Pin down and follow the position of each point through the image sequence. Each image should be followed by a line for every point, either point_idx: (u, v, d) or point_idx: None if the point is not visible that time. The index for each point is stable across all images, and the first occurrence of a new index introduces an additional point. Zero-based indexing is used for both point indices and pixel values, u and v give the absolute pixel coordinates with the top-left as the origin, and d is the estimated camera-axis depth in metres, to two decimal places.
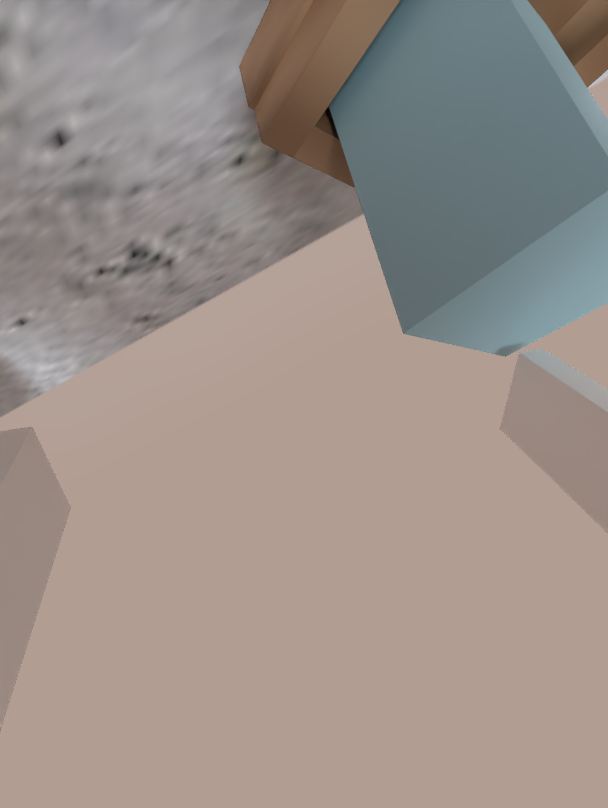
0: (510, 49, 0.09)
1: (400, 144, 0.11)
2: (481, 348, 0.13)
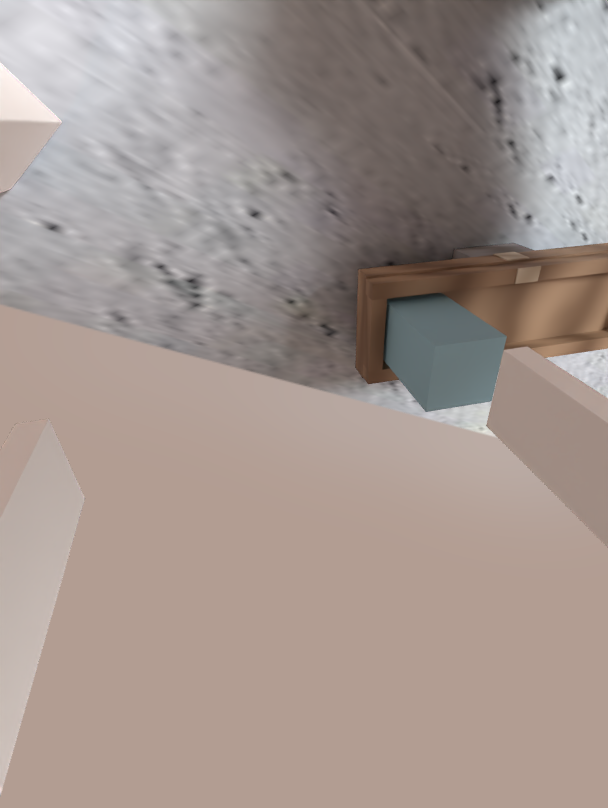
0: (467, 314, 0.31)
1: (426, 316, 0.31)
2: (430, 392, 0.29)
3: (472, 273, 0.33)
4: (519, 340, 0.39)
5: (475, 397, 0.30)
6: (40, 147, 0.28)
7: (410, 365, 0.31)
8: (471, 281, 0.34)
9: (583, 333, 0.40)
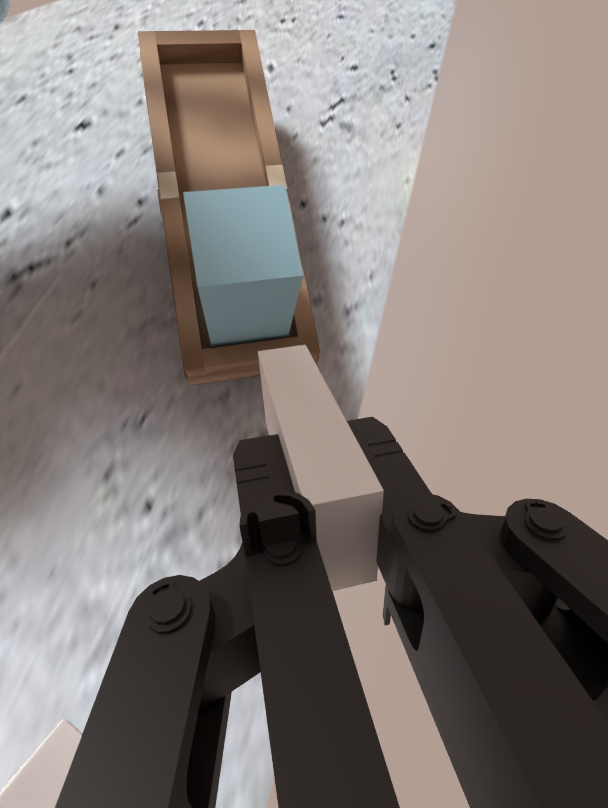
0: None
1: None
2: (270, 276, 0.20)
3: (168, 252, 0.28)
4: (260, 169, 0.32)
5: (279, 209, 0.21)
6: None
7: (259, 307, 0.23)
8: (178, 250, 0.28)
9: (248, 93, 0.33)
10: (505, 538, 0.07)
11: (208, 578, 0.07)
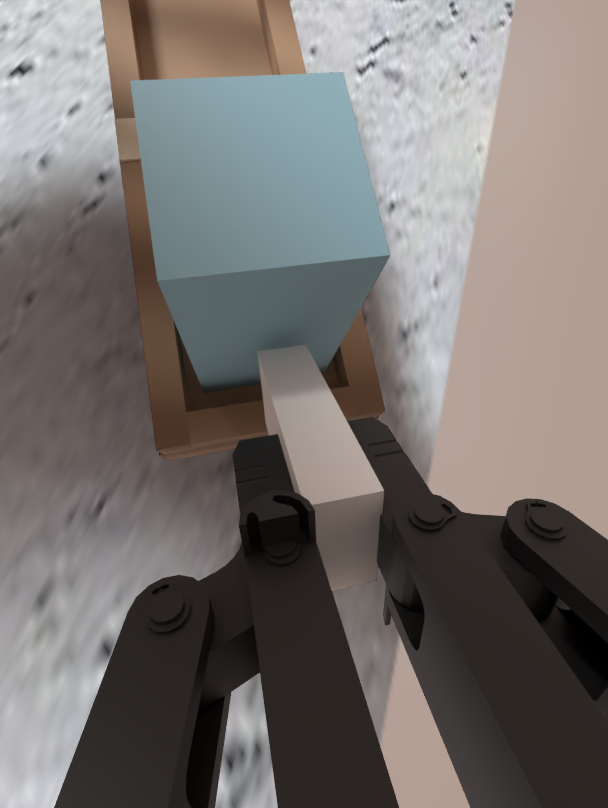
0: None
1: None
2: (319, 257, 0.09)
3: (131, 246, 0.17)
4: None
5: (332, 119, 0.10)
6: None
7: (288, 323, 0.12)
8: (147, 244, 0.17)
9: (259, 9, 0.22)
10: (506, 538, 0.07)
11: (207, 578, 0.07)
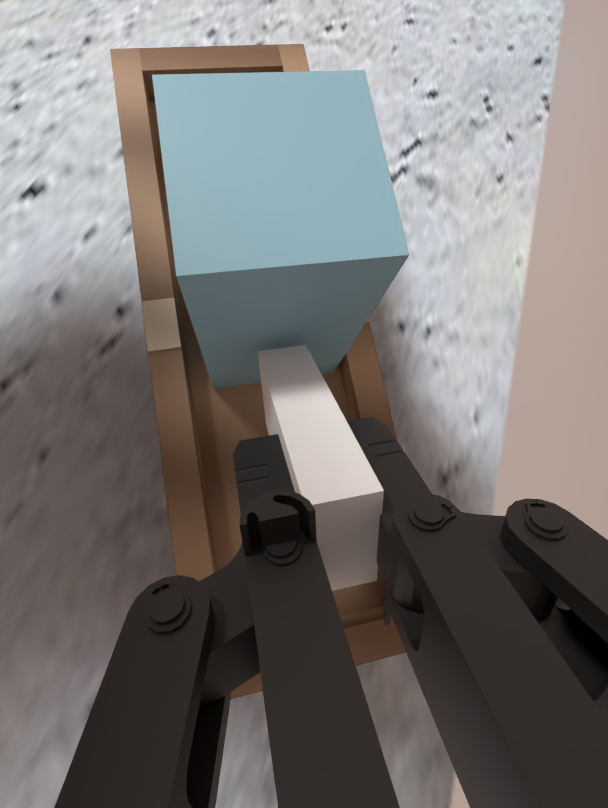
0: None
1: None
2: (338, 256, 0.09)
3: (162, 455, 0.15)
4: None
5: (353, 117, 0.10)
6: None
7: (302, 321, 0.12)
8: (179, 452, 0.15)
9: None
10: (506, 538, 0.07)
11: (208, 578, 0.07)
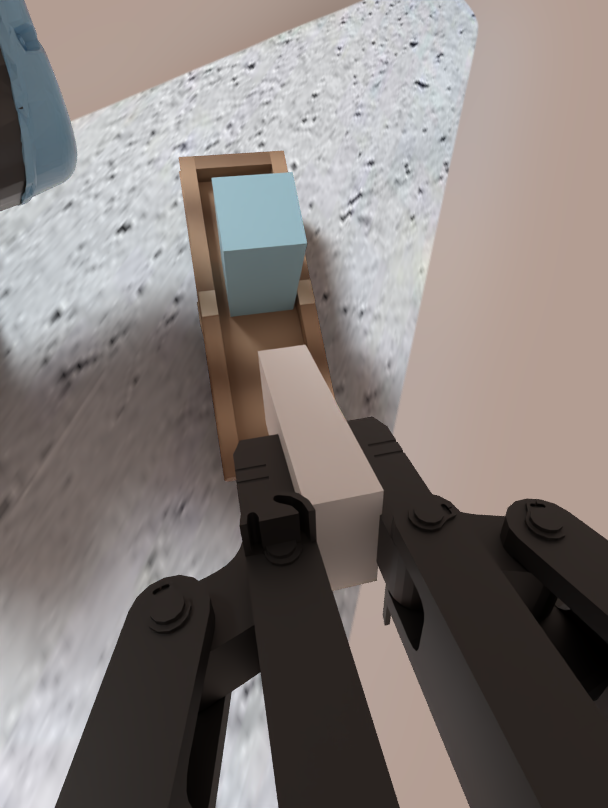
0: (217, 226, 0.30)
1: None
2: (280, 244, 0.25)
3: (209, 366, 0.31)
4: None
5: (287, 191, 0.26)
6: None
7: (271, 273, 0.28)
8: (218, 365, 0.31)
9: None
10: (505, 539, 0.07)
11: (208, 578, 0.07)
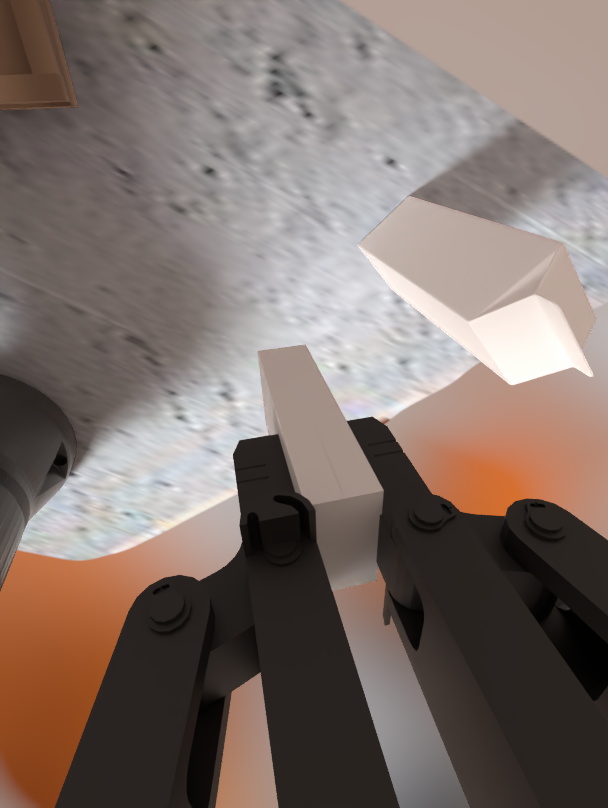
0: None
1: None
2: None
3: None
4: None
5: None
6: (378, 229, 0.37)
7: None
8: None
9: None
10: (505, 538, 0.07)
11: (208, 578, 0.07)
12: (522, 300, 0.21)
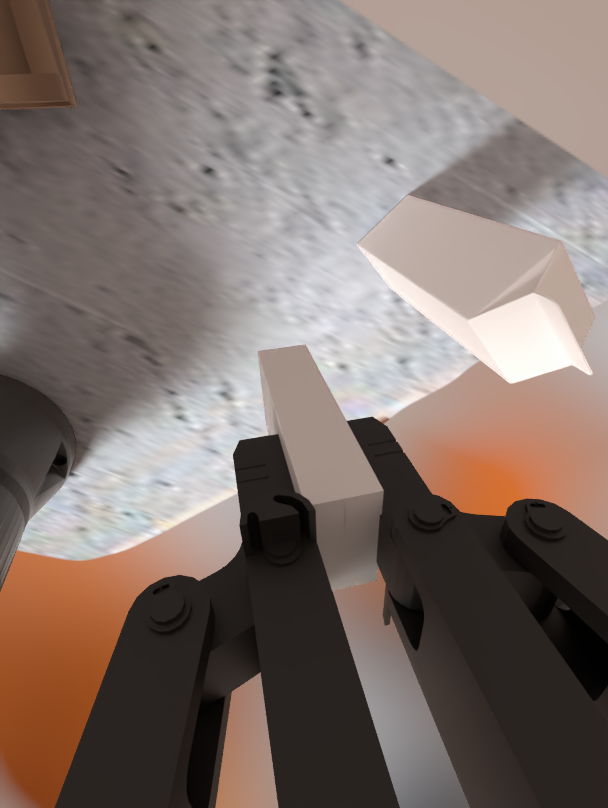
0: None
1: None
2: None
3: None
4: None
5: None
6: (377, 228, 0.37)
7: None
8: None
9: None
10: (505, 538, 0.07)
11: (208, 578, 0.07)
12: (521, 298, 0.21)
